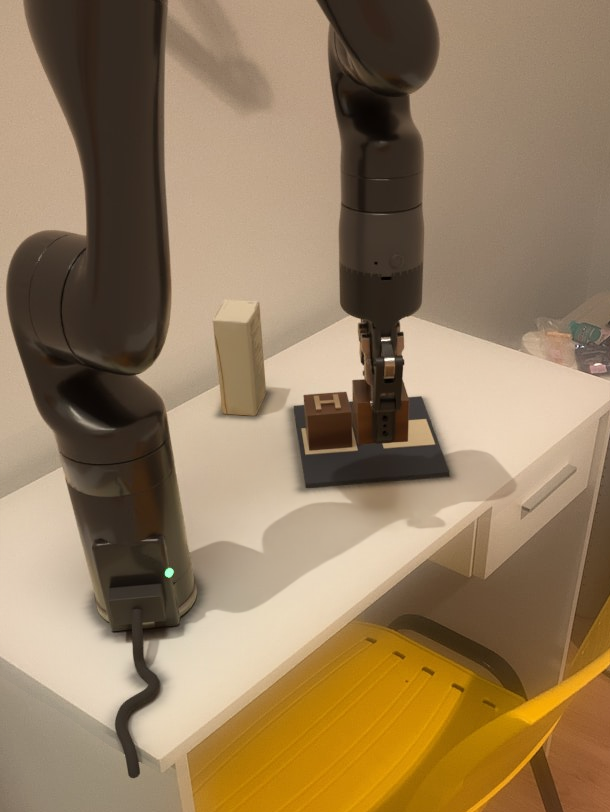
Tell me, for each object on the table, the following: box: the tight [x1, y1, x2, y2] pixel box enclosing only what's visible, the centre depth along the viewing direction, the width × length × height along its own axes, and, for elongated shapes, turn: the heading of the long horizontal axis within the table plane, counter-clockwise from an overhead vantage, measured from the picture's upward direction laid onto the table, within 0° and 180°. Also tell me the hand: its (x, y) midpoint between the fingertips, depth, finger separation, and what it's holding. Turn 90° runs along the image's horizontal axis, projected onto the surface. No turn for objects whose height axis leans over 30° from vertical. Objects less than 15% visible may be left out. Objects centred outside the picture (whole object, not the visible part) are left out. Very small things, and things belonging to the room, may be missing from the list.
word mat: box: [293, 396, 450, 489], centre depth 112 cm, size 18×16×1 cm
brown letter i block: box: [351, 378, 409, 445], centre depth 95 cm, size 5×5×5 cm
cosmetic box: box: [212, 298, 267, 417], centre depth 116 cm, size 6×4×12 cm
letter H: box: [303, 391, 352, 451], centre depth 110 cm, size 5×5×5 cm
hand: (379, 427), depth 96 cm, fingers closed on brown letter i block, 5 cm apart
